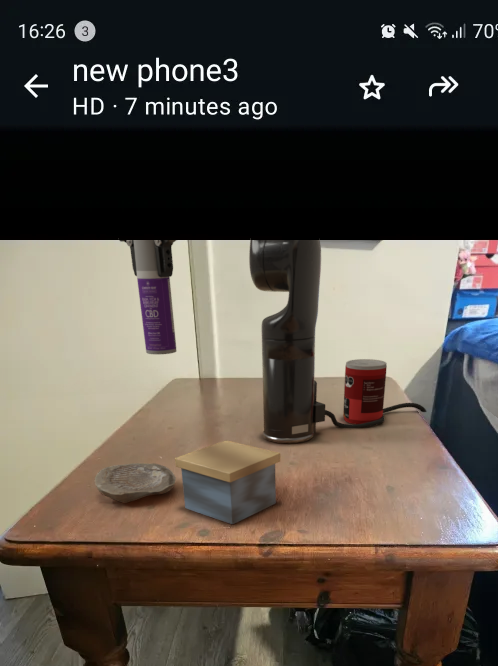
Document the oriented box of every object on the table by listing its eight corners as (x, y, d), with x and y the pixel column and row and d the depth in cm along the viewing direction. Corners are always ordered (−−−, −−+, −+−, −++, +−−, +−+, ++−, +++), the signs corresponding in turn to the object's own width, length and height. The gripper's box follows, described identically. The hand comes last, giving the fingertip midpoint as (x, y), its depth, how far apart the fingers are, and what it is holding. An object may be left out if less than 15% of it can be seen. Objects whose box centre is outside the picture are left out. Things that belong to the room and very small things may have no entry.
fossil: (182, 505, 83) (181, 487, 82) (99, 513, 80) (97, 495, 79) (170, 476, 91) (169, 459, 90) (94, 482, 88) (91, 464, 87)
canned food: (350, 413, 122) (353, 358, 116) (387, 417, 119) (391, 360, 113) (337, 422, 116) (339, 364, 111) (375, 427, 113) (380, 367, 108)
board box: (229, 487, 87) (226, 439, 83) (281, 503, 82) (280, 452, 78) (179, 508, 81) (174, 457, 77) (232, 527, 75) (229, 473, 71)
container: (147, 355, 88) (133, 238, 80) (145, 350, 92) (131, 238, 84) (178, 353, 89) (167, 237, 81) (174, 348, 93) (164, 238, 85)
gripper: (196, 123, 74) (206, 276, 83) (125, 136, 82) (142, 274, 91) (150, 116, 69) (166, 279, 78) (80, 130, 77) (102, 277, 86)
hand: (153, 275), depth 85 cm, fingers closed on container, 4 cm apart
